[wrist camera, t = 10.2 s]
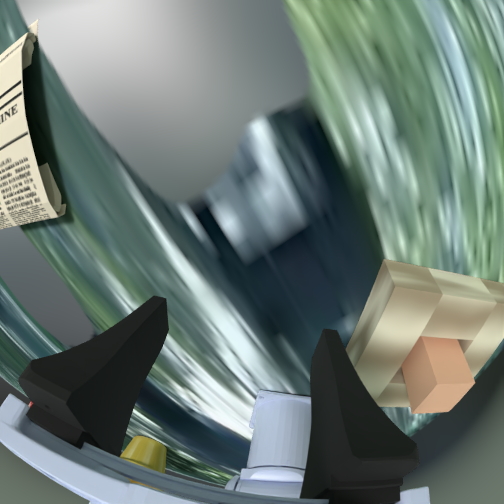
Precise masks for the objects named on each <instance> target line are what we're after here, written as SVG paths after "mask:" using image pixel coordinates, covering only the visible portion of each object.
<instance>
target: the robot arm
mask: <svg viewBox="0 0 504 504" xmlns="http://www.w3.org/2000/svg"><path fill="white" fill-rule="evenodd" d="M168 331H169V326H168V315H167V302H166V298H162V297H158V296H153V297H152V298H150V299H149V300H148V301H146V302H145V303H144V304H142V305H141V306H140V307H139V308H137V309H136V310H135V311H133V312H132V313H131V314H129V315H128V316H127V317H125V318H124V319H123V320H121V321H120V322H118V323H117V324H115V325H114V326H112V327H111V328H109V329H108V330H106V331H105V332H103V333H102V334H100V335H98V336H96V337H94V338H93V339H91V340H89V341H87V342H85V343H82V344H80V345H78V346H76V347H73V348H71V349H69V350H66V351H63V352H60V353H57V354H54V355H51V356H47V357H43V358H39V359H34V360H32V361H31V362H30V363H29V365H28V366H27V367H26V369H25V370H24V372H23V373H22V374H21V376H20V377H19V379H18V381H19V384H20V386H21V388H22V389H23V391H24V392H25V393H26V395H27V396H28V397H29V399H30V400H31V401H32V403H33V404H32V406H31V407H29V406H28V405H27V404H25V403H24V402H23V401H21V400H20V399H18V398H17V397H15V396H14V395H12V394H9V395H8V397H7V398H6V400H5V401H4V403H3V404H2V406H1V407H0V442H1V443H3V444H4V445H5V446H6V447H7V448H8V449H10V450H11V451H12V452H13V453H14V454H16V455H17V456H18V457H20V458H21V459H23V460H24V461H25V462H27V463H28V464H30V465H31V466H32V467H34V468H35V469H37V470H38V471H40V472H41V473H43V474H44V475H46V476H47V477H49V478H51V479H52V480H54V481H56V482H57V483H59V484H60V485H62V486H64V487H66V488H67V489H69V490H71V491H72V492H74V493H76V494H78V495H80V496H82V497H83V498H85V499H87V500H89V501H90V503H89V504H208V503H212V504H430V499H429V488H428V487H421V488H414V489H408V490H404V491H401V492H400V486H402V484H403V478H402V477H404V476H406V475H407V474H409V473H410V472H412V471H413V470H414V469H416V468H417V467H418V465H419V464H420V462H419V454H418V449H417V445H416V443H415V442H414V441H413V440H411V439H410V438H409V437H408V436H407V435H405V434H404V433H403V432H402V431H401V430H400V429H399V428H398V427H397V426H396V425H395V424H394V423H393V422H392V421H391V420H390V419H389V418H388V417H387V415H386V414H385V413H384V412H383V411H382V410H381V408H380V407H379V406H378V405H377V403H376V402H375V401H374V399H373V398H372V396H371V395H370V393H369V392H368V390H367V389H366V387H365V386H364V384H363V382H362V381H361V379H360V377H359V376H358V374H357V372H356V370H355V368H354V366H353V364H352V362H351V360H350V358H349V356H348V354H347V352H346V350H345V348H344V345H343V343H342V341H341V338H340V336H339V334H338V332H337V330H331V329H323V331H322V334H321V337H320V339H319V342H318V344H317V347H316V349H315V352H314V354H313V357H312V364H311V376H310V384H311V397H306V396H298V395H291V394H284V393H277V392H271V391H265V390H260V391H258V394H257V398H256V402H255V406H254V410H253V413H252V417H251V421H250V425H249V427H250V428H252V429H254V431H253V436H252V442H251V447H250V453H249V458H248V463H247V469H242V471H241V476H238V475H236V476H234V477H233V478H232V479H231V480H229V482H228V483H227V485H226V487H225V489H222V488H217V487H213V486H208V485H203V484H200V483H196V482H192V481H188V480H184V479H181V478H177V477H174V476H170V475H167V474H164V473H161V472H158V471H154V470H151V469H149V468H146V467H143V466H140V465H137V464H135V463H132V462H129V461H127V460H124V459H122V458H120V454H121V450H122V446H123V442H124V438H125V434H126V431H127V427H128V424H129V420H130V417H131V414H132V411H133V408H134V406H135V403H136V400H137V397H138V395H139V392H140V390H141V387H142V385H143V383H144V381H145V379H146V377H147V375H148V374H149V372H150V370H151V368H152V366H153V364H154V362H155V360H156V358H157V357H158V355H159V353H160V351H161V349H162V347H163V344H164V341H165V339H166V336H167V333H168ZM123 476H124V477H123ZM125 477H126V478H125ZM127 478H129V479H131V480H134V481H137V482H139V483H142V484H145V485H148V486H151V487H154V488H157V489H160V490H163V491H166V492H169V493H166V492H163V491H160V490H157V489H154V488H151V487H148V486H145V485H142V484H138V483H131V481H130V480H129V479H127ZM170 493H173V494H176V495H173V494H170ZM177 495H180V496H183V497H180V496H177ZM184 497H187V498H184ZM188 498H191V499H188ZM192 499H195V500H192ZM196 500H199V501H203V502H199V501H196ZM204 502H208V503H204Z"/></svg>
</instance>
